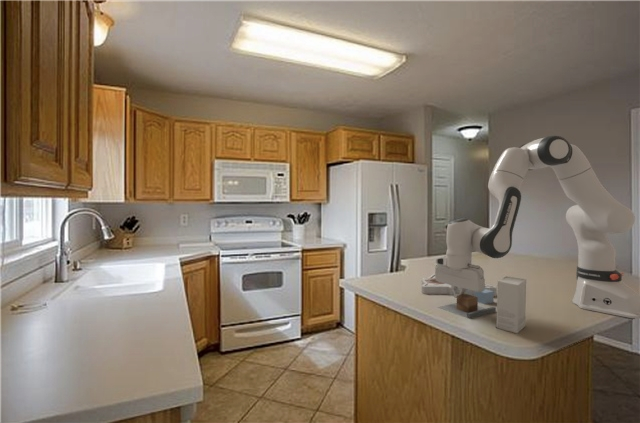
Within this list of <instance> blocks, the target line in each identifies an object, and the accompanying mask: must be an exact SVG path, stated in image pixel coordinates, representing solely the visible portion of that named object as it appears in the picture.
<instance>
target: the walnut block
mask: <svg viewBox="0 0 640 423" xmlns="http://www.w3.org/2000/svg"><path fill="white" fill-rule="evenodd" d="M456 303H457V309H458V310H461V311H464V312H467V313H470V312H474V311H478V306H479V305H478V303H479V302H478V297H476V296H474V295H469V294H462V295H458V296H457V298H456Z"/></svg>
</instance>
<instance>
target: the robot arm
mask: <svg viewBox="0 0 640 423" xmlns="http://www.w3.org/2000/svg"><path fill="white" fill-rule="evenodd" d="M546 168H550V169H552V170H553V172H554V174H555V176H556V179H557V180H558V182H559V184H560V187H561V188H562V190H563V192H564V194H565V196H566V197H567V198H568V199H570V200H571V201H572V202H574V203H575V205H572V206H570V207H569V208H568V209H567V210H566V212H565V220H566V222H567V224H568V225H569V226H570V227H571V229H572V230H573V234H574V236H575V238H576V242H577V248H578V249H577V251H578V252H577V254H578V255H577V257H578V258H577V259H578V262H577V263H578V264H577V265H578V266H576V272H575V273H576V274H575V275H576V281H577V282H576V288H575V292H574V296H573V298H572V301H571V302H572V303H573V304H575V305H577V306H578V307H579V308H580V309H584V310H588V311H593V312H597V313H602V314H603V313H604V314H608V315H613V316H617V317H622V318H623V317H624V318H628V319H636V320H637V319H640V294H639V293H638V292H637V291H635V290H634V289H633V288H632V287H630V286H628V285H627V284H626V283H625V282H624V281H622V279H623V278H622V277H623V276H624V272H619V270H617V269H616V257H617V255H616V254H617V250H616V248H615V247H614V245H613V244H612V243H611V242H610V241H609V239H608V236H607V234H609V235H612V234H613V235H614V234H621V233H626V232H628V231H630V230H631V229H632V228H633V226H634V224H635V220H636V218H635V214H634V211H632V209H630V207H627V206H626V205H624V204H622V203H620V201H618V200H617V199H616V198H615V197H613V196H612V194H610V192H609V191H608V190H606V188H605V187H604V186H603V185H602V183H601V181H600V180H599V178H598V176H597V173H596V172H595V171H594V169H593V166H592V165H591V163H590V161H589V159H588V158H587V157H586V155H585V154H584V153H583V151H582V150H581V149H580V148H579V147H578V146H577V145H575V144H570V142H569V141H568V140H567V139H565V138H564V137H563V136H559V135H547V136H545V137H542V138H538V139H534V140H532V141H530V142H527V143H525V144H522V145H520V146H519V147H517V146H516V147H515V146H513V147H508V148H506V149H505V150H503V151H502V153H501V154H500V156H499V158H498V159H497V161H496V163H495V165H494V167H493V169H492V172H491V174H490V175H489V179H488V184H487V188H488V190H489V192H490V194H491V195H492V196H493V197H495V198H496V199H497V201H498V204H499V205H498V209H497V213H496V215H495V220H494V222H493V225H492V226H491V227H490V228H489V227H484V226H481V225H479V224H476V223H474V222H473V221H471V220H470V218H466V217H465V218H463V217H462V218H456V219H451V221H449V222H448V224H447V225H446V226H447V228H446V237H445V240H446V241H445V243H446V246H447V247H446V248H447V249H446V253H445V256H442V257H437V258H435V264H436V265H435V267H434V273H435V279H436V281H438V282H441V283H445V284H449V285H451V288H452V290H453V293H454V295H453V298H456V299H457V296H458V295H462V294H464V293H465V291H466V289H467V290H471V291H474V292H482V291H484V290H485V282H486V279H485V274H484V273H485V271H484V269H483V268H482V267H481V266H480V265H477V264H476V265H475V264H473V263H472V262H473V261H472V259H473V258H472V257H473V256H472V253H473V252H476V253H479V254H482V255H485V256H488V257H489V258H492V259H500V258H504V257H505V256H506V255H508V253H509V252H510V250H511V249H512V245H513V232H514V228H515V223H516V220H517V217H518V214H519V210H520V206H521V201H522V192H521V190H522V189H521V188H522V185H523V182H524V180H525V177H526V175H527V173H528V171H533V170H541V169H546ZM484 279H485V280H484ZM458 287H459V290H461V291H460V293H459V292H458V290H457V288H458Z"/></svg>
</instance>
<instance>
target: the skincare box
mask: <svg viewBox="0 0 640 423" xmlns="http://www.w3.org/2000/svg"><path fill="white" fill-rule="evenodd" d="M496 287H497V296H496V329H498V330H502V331H507V332H510V333H514V334H518V333H519V332H520V331H522V330H523V329H524V328H525V327H526V301H527V300H526V299H527V279H525V278H519V277H514V276H504V277H502V278H500V279H499V280H497V286H496Z"/></svg>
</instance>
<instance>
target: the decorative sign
mask: <svg viewBox="0 0 640 423" xmlns="http://www.w3.org/2000/svg"><path fill="white" fill-rule="evenodd" d="M484 280H485V289H487V290H491V291H494V297H497V286H495V285H491V284H488V283H487V282H486V279H485V278H484ZM457 290H458V292H459V293H460V291H461V290H459V287H458V288H457ZM421 294H422V295H423V294H424V295H425V294H426V295H450V296H454V293H453V290H452V288H451V285H449V284H445V283H441V282H438V281H436V279H435V272H434V273H432V274H431V275H430V276H428V277H422V278H421ZM464 294H469V295H472V296H474V291H471V290H467V289H466V291H465V293H464Z"/></svg>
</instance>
